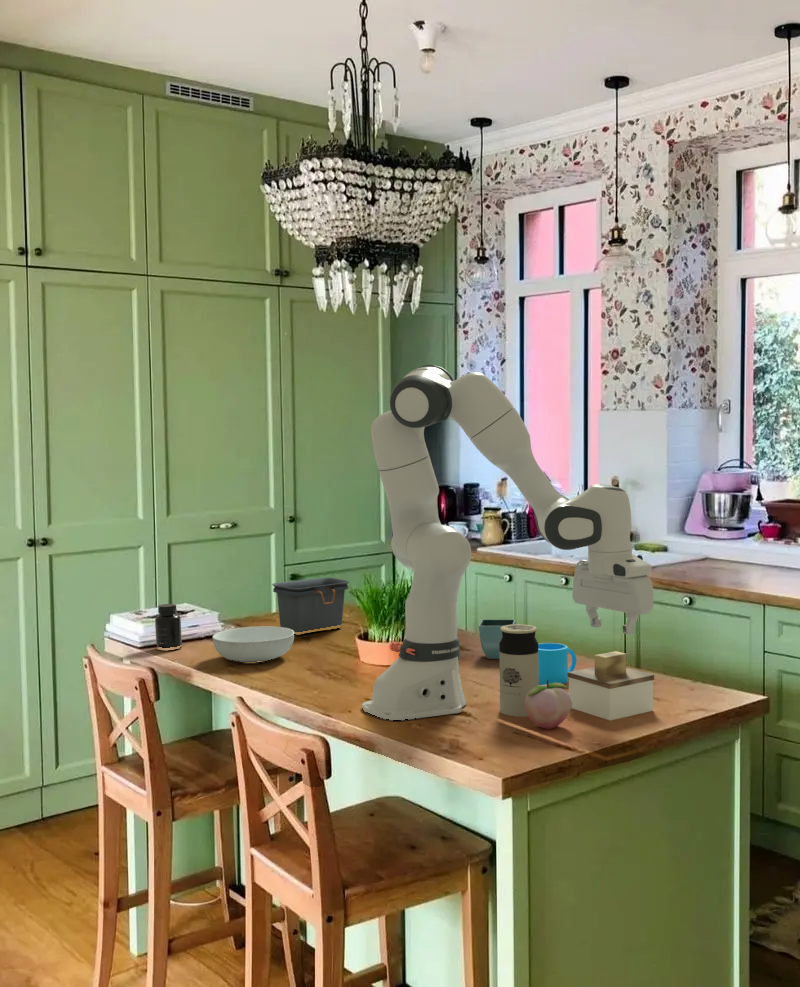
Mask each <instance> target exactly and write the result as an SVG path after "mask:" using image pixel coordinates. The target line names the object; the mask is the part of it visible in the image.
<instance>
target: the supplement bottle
mask: <svg viewBox="0 0 800 987" xmlns="http://www.w3.org/2000/svg"><path fill="white" fill-rule="evenodd" d="M157 608H158V610H157V611H158V612H157V613H158V615H157V616H156V617H155V619H154V624H155V626H154V627H155V629H154V630H155V645H157V647H162V648H170V647H177V646H180V645H182V646H183V642H182V640H183V639H182V638H183V636H182V619H181V615H179V614H178V613H177V612H178V610H177V605H176V604H175V603H165V604H159V605H158V606H157ZM157 647H156V648H157Z"/></svg>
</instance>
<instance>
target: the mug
mask: <svg viewBox="0 0 800 987" xmlns="http://www.w3.org/2000/svg"><path fill="white" fill-rule="evenodd" d="M568 653H569V654H570V656H571V663H570V666H569V664H568V662H569V660H568V658H569V657H568ZM577 661H578V660H577V655H576V653H575V652H574V651H573V649H571V648H569V647H568V645H565V644H564V643H563V644H562V643H555V642H541V643H538V662H539V685H547V680H548V684H551V683H561V684H566V683H567V684H569V677H568V675H567V672H571V671H575V668H576V665H577Z"/></svg>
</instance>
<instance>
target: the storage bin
mask: <svg viewBox="0 0 800 987" xmlns="http://www.w3.org/2000/svg"><path fill="white" fill-rule="evenodd" d="M349 583H350V580H347V579H340V578H336V577H335V578H334V577H319V578H310V579H309V578H308V579H299V580H292V581H291V580H290V581H289V580H288V581H281V582H280V581H279V582H275V583H274V582H273V583H271V585H272V586H273V590H272V592H274V593H275V594H276V596H277V597H276V598H277V605H278V606H277V607H278V614H279V615H278V617H279V627H283V628H289V629H291V630H293V631H294V632H303V631H308V630H314V629H320V628H326V627H331V626H337V625H341V624H342V625H343V617H344V616H343V615H344V602H345V593H346V590H348V589H349V585H348V584H349Z"/></svg>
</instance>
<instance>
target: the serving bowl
mask: <svg viewBox="0 0 800 987" xmlns="http://www.w3.org/2000/svg"><path fill="white" fill-rule="evenodd" d="M294 634H295V632H294V631H293V630H291V629H289V628H283V627H280V626H272V625H271V626H267V625H266V626H262V625H261V626H260V625H259V626H246V627H245V626H244V627H237V628H231V629H230V628H229V629H227V630H221V631H218V632H216V633H214V634H212V642H213V646H214V648H215V650H216V651H217V653H218V654H219V655H220V656H222V657H223V658H225V659H227V660H229V661H232V660H233V661H232V662H238V661H240V662H257V661H266V660H270V661H272V660H275V659H277V658H279V657H282V656H283V655H285V654H286V653H288V651H289V650H290V649H291V648H292V646H293V643H294V640H295V635H294ZM271 659H272V660H271ZM240 662H239V663H240Z"/></svg>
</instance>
